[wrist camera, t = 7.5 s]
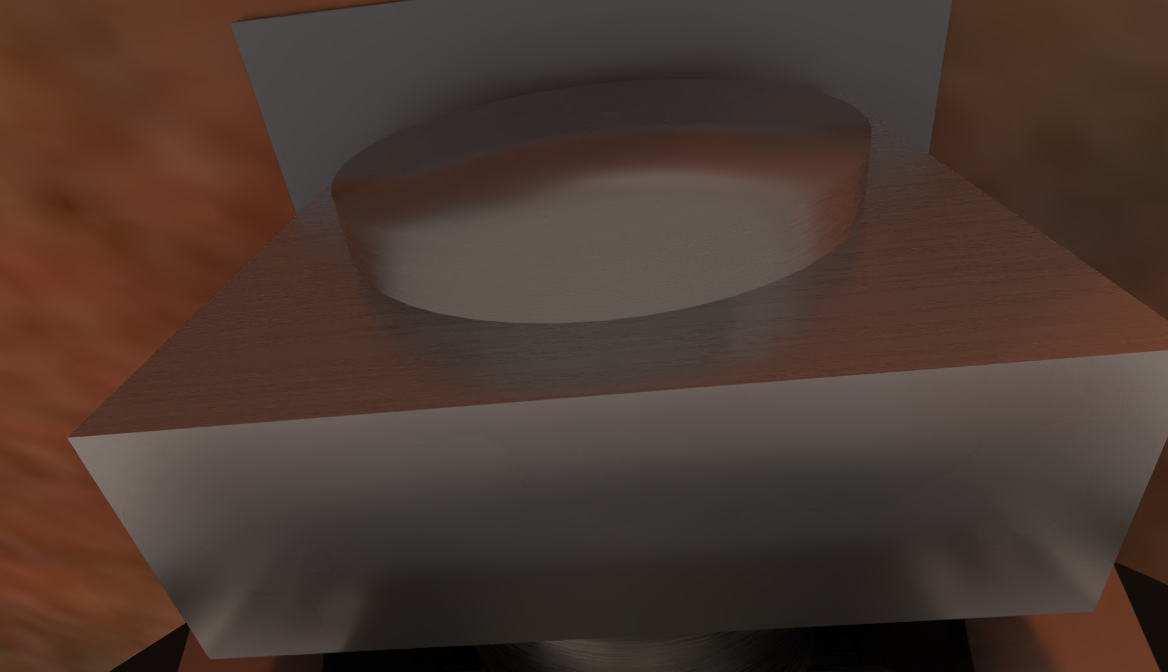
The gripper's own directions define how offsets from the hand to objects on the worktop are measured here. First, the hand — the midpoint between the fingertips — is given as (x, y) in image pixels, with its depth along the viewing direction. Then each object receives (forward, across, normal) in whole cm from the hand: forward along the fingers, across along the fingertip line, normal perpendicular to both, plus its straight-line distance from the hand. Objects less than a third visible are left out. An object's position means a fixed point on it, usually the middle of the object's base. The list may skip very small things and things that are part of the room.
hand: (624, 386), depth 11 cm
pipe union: (+1, 0, 0) cm, 1 cm away
